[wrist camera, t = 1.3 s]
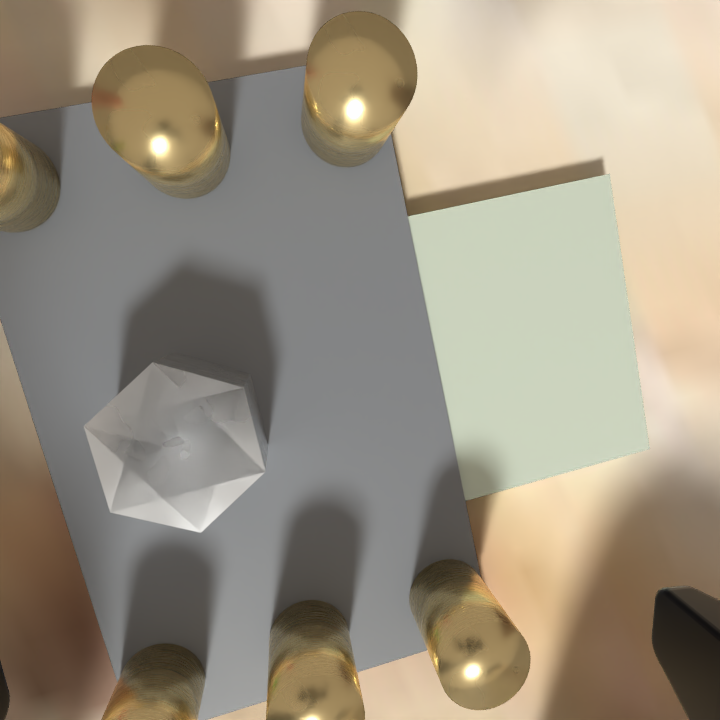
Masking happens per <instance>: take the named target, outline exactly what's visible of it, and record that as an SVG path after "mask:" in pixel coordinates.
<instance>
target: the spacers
mask: <svg viewBox="0 0 720 720" xmlns="http://www.w3.org/2000/svg"><path fill="white" fill-rule="evenodd" d="M416 85H417V64H416V59H415V55H414V53H413V50H412V47H411V45H410V44H409V42H408V40H407V38H406V37H405V36H404V34H403V33H402V32H401V31H400V30H399V29H398V28H397V27H396V26H395V25H394V24H393V23H391V22H390V21H389V20H387V19H385V18H383V17H381V16H379V15H376V14H374V13H369V12H363V11H355V12H348V13H343V14H341V15H338V16H336V17H334V18H333V19H331V20H329V21H328V22H327V23H326V24H324V25H323V26H322V27H321V28H320V30H319V31H318V32H317V34H316V35H315V37H314V39H313V40H312V42H311V45H310V48H309V51H308V55H307V63H306V73H305V83H304V93H303V103H302V113H301V126H302V131H303V135H304V137H305V140H306V142H307V144H308V145H309V147H310V148H311V150H312V151H313V152H314V153H315V154H316V155H317V156H318V157H319V158H320V159H322V160H323V161H325V162H327V163H329V164H331V165H334V166H337V167H356V166H359V165H362V164H364V163H366V162H368V161H369V160H371V159H372V158H373V157H374V156H375V155H376V154H377V153H378V152H379V151H380V149H381V148H382V146H383V145H384V143H385V142H386V140H387V138H388V137H389V135H390V134H391V132H392V131H393V129H394V128H395V126H396V124H397V123H398V121H399V120H400V118H401V117H402V115H403V114H404V112H405V111H406V109H407V107H408V106H409V104H410V102H411V100H412V98H413V95H414V93H415V89H416ZM92 112H93V117H94V120H95V123H96V126H97V128H98V130H99V132H100V134H101V136H102V137H103V139H104V140H105V142H106V143H107V144H108V145H109V146H110V147H111V148H112V149H113V150H114V151H115V152H116V153H117V154H118V155H119V156H120V157H121V158H123V159H124V160H125V161H126V162H127V163H128V164H129V165H130V166H132V167H133V168H134V169H135V170H136V171H137V172H138V173H139V174H141V175H142V176H143V177H144V178H145V179H146V180H147V181H148V182H150V183H151V184H152V185H153V186H154V187H155V188H157V189H158V190H159V191H161V192H163V193H165V194H167V195H169V196H172V197H175V198H181V199H192V198H198V197H201V196H204V195H206V194H208V193H210V192H211V191H213V190H214V189H215V188H217V186H218V185H219V184H220V183H221V182H222V181H223V179H224V177H225V175H226V174H227V171H228V168H229V164H230V147H229V143H228V139H227V136H226V133H225V130H224V127H223V125H222V122H221V119H220V116H219V113H218V110H217V107H216V104H215V101H214V98H213V95H212V92H211V89H210V87H209V85H208V83H207V81H206V79H205V78H204V76H203V75H202V73H201V72H200V71H199V69H198V68H197V67H196V66H195V65H194V64H193V63H192V62H190V61H189V60H188V59H187V58H185V57H184V56H182V55H181V54H179V53H177V52H175V51H173V50H170V49H167V48H164V47H160V46H153V45H143V46H136V47H131V48H128V49H126V50H123V51H121V52H119V53H118V54H116V55H115V56H113V57H112V58H111V59H109V61H108V62H107V63H106V64H105V65H104V66H103V67H102V69H101V70H100V72H99V74H98V76H97V78H96V80H95V83H94V86H93V91H92ZM60 189H61V188H60V180H59V175H58V173H57V170H56V168H55V166H54V164H53V162H52V161H51V159H50V158H49V157H48V156H47V154H46V153H45V152H44V151H43V150H41V149H40V148H39V147H38V146H36V145H35V144H33V143H32V142H30V141H28V140H27V139H25V138H24V137H22V136H21V135H19V134H17V133H16V132H14V131H13V130H11V129H10V128H8V127H6V126H5V125H3V124H2V123H0V231H3V232H10V233H19V232H25V231H29V230H32V229H35V228H37V227H38V226H40V225H42V224H43V223H44V222H46V221H47V220H48V219H49V218H50V217H51V215H52V214H53V213H54V211H55V209H56V207H57V205H58V202H59V198H60ZM409 604H410V609H411V612H412V614H413V617H414V619H415V621H416V624H417V626H418V629H419V631H420V633H421V636H422V638H423V641H424V643H425V645H426V648H427V650H428V653H429V655H430V657H431V660H432V662H433V665H434V667H435V670H436V672H437V674H438V677H439V679H440V682H441V684H442V686H443V688H444V691H445V692H446V694H447V695H448V696H449V698H450V699H451V700H452V701H454V702H455V703H456V704H458V705H460V706H462V707H464V708H467V709H472V710H486V709H491V708H494V707H497V706H499V705H501V704H503V703H505V702H507V701H508V700H509V699H511V698H512V697H513V696H514V695H515V694H516V693H517V692H518V691H519V690H520V688H521V687H522V686H523V684H524V682H525V680H526V678H527V675H528V672H529V669H530V651H529V648H528V645H527V643H526V641H525V639H524V637H523V636H522V635H521V633H520V632H519V630H518V629H517V628H516V626H515V625H514V623H513V622H512V621H511V619H510V618H509V616H508V615H507V614H506V612H505V611H504V609H503V608H502V607H501V605H500V604H499V602H498V601H497V600H496V598H495V597H494V596H493V594H492V593H491V591H490V590H489V589H488V587H487V586H486V584H485V583H484V582H483V580H482V579H481V577H480V576H479V575H478V573H477V572H476V571H475V570H474V568H472V567H471V566H470V565H468V564H467V563H465V562H463V561H459V560H454V559H446V560H440V561H437V562H434V563H432V564H430V565H429V566H427V567H426V568H425V569H423V570H422V571H421V572H420V573H419V574H418V576H417V577H416V578H415V580H414V582H413V584H412V587H411V590H410V595H409ZM204 686H205V672H204V668H203V666H202V664H201V662H200V660H199V659H198V658H197V656H196V655H195V654H194V653H192V652H191V651H190V650H188V649H186V648H184V647H182V646H179V645H175V644H156V645H152V646H149V647H146V648H144V649H142V650H141V651H139V652H137V653H136V654H135V655H134V656H133V657H132V658H131V659H130V660H129V661H128V662H127V664H126V665H125V667H124V669H123V671H122V673H121V675H120V678H119V680H118V682H117V685H116V687H115V689H114V692H113V694H112V696H111V699H110V701H109V703H108V705H107V708H106V710H105V712H104V715H103V717H102V719H101V720H198V715H199V710H200V705H201V700H202V696H203V691H204ZM266 720H365V710H364V705H363V700H362V695H361V690H360V685H359V680H358V675H357V670H356V665H355V660H354V655H353V650H352V645H351V640H350V635H349V630H348V625H347V622H346V620H345V618H344V616H343V615H342V613H341V612H340V611H339V610H338V609H337V608H336V607H334V606H333V605H331V604H329V603H327V602H323V601H319V600H306V601H301V602H298V603H295V604H293V605H291V606H290V607H288V608H287V609H285V610H284V611H283V612H282V613H281V614H280V615H279V616H278V617H277V619H276V620H275V622H274V624H273V626H272V628H271V631H270V637H269V660H268V685H267V710H266Z"/></svg>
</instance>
